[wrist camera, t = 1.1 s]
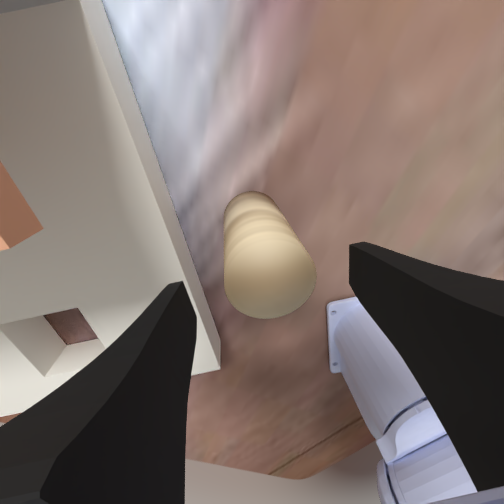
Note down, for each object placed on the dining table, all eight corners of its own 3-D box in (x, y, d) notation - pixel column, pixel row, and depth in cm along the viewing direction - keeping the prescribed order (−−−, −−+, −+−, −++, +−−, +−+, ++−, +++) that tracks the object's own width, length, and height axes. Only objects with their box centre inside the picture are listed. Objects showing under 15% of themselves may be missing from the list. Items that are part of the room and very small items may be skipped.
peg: (282, 238, 19) (319, 308, 12) (230, 249, 19) (235, 326, 12) (275, 185, 17) (313, 231, 10) (217, 198, 17) (213, 252, 10)
